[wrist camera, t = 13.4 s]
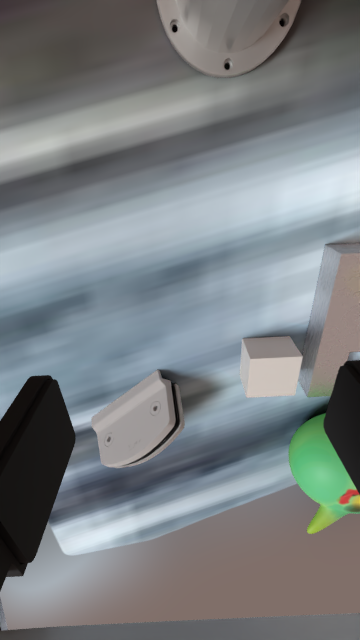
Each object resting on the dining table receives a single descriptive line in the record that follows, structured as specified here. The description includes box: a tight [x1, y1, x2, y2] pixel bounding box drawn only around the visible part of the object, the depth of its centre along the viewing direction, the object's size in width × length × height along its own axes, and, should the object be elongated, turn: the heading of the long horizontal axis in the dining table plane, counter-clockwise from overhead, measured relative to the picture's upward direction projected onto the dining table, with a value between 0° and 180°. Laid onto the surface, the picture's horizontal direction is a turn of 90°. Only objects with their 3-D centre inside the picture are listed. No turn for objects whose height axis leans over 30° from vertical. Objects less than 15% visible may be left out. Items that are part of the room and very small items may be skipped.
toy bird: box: [289, 413, 360, 534], centre depth 46 cm, size 18×17×15 cm
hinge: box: [92, 370, 185, 468], centre depth 46 cm, size 17×5×10 cm, turn 131°
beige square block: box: [240, 336, 303, 398], centre depth 42 cm, size 7×7×5 cm
